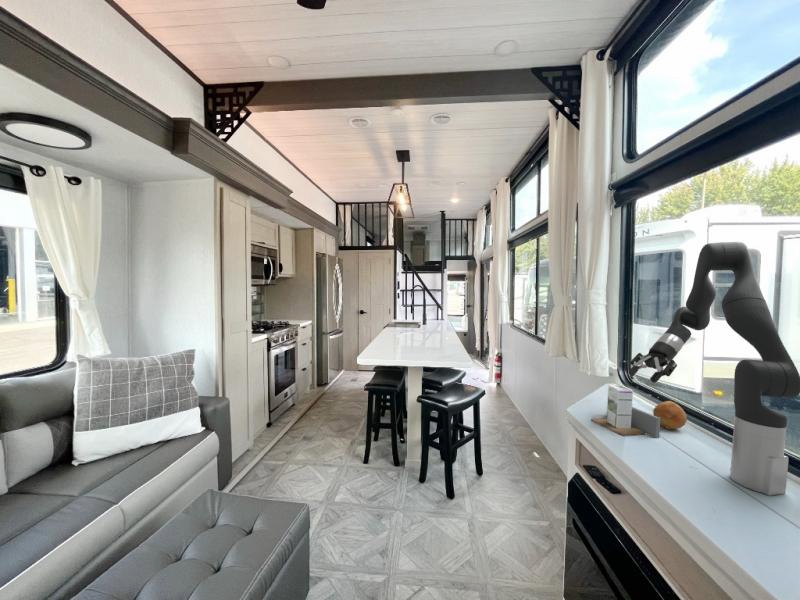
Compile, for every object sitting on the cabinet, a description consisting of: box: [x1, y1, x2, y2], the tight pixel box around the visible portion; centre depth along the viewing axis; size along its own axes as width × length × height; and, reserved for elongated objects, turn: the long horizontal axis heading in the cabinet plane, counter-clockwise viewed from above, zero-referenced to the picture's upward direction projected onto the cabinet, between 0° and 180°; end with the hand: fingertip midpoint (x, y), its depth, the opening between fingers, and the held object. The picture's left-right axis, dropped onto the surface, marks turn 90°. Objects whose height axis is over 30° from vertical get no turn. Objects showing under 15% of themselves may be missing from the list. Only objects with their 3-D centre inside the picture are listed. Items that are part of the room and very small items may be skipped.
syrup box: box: [606, 384, 634, 429], centre depth 122 cm, size 6×6×14 cm
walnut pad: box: [590, 417, 647, 437], centre depth 122 cm, size 14×10×1 cm
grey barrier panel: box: [631, 406, 661, 439], centre depth 123 cm, size 20×2×7 cm, turn 14°
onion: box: [652, 400, 688, 430], centre depth 123 cm, size 10×10×10 cm
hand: (640, 377), depth 124 cm, fingers open, 8 cm apart
